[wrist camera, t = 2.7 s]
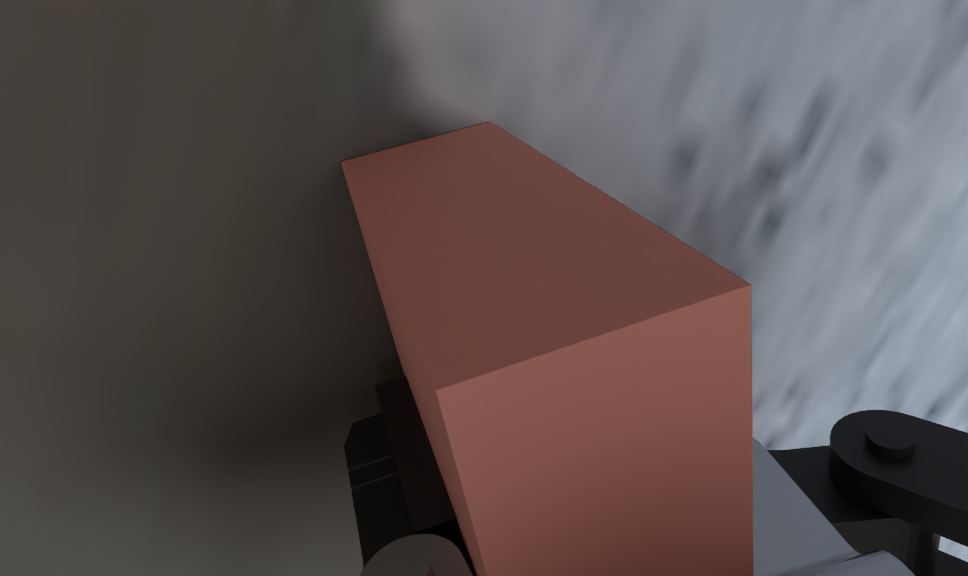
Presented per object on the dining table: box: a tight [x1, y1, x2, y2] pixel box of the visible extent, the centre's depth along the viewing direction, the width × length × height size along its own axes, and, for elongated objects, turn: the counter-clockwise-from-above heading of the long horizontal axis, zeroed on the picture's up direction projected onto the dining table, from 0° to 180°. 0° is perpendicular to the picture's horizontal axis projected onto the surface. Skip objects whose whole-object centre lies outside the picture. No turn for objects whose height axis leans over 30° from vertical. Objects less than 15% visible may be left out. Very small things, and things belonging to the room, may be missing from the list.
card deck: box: [341, 122, 754, 576], centre depth 10 cm, size 9×2×6 cm, turn 11°
